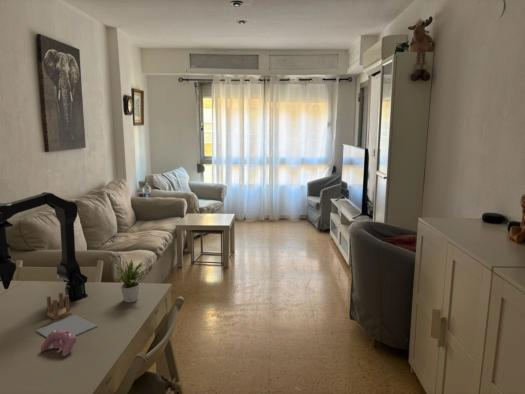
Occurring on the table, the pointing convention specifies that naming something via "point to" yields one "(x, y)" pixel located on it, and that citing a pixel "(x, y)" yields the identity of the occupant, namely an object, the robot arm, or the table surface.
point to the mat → (68, 326)
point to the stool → (56, 311)
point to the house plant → (130, 282)
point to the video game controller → (59, 341)
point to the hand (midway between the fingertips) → (3, 284)
